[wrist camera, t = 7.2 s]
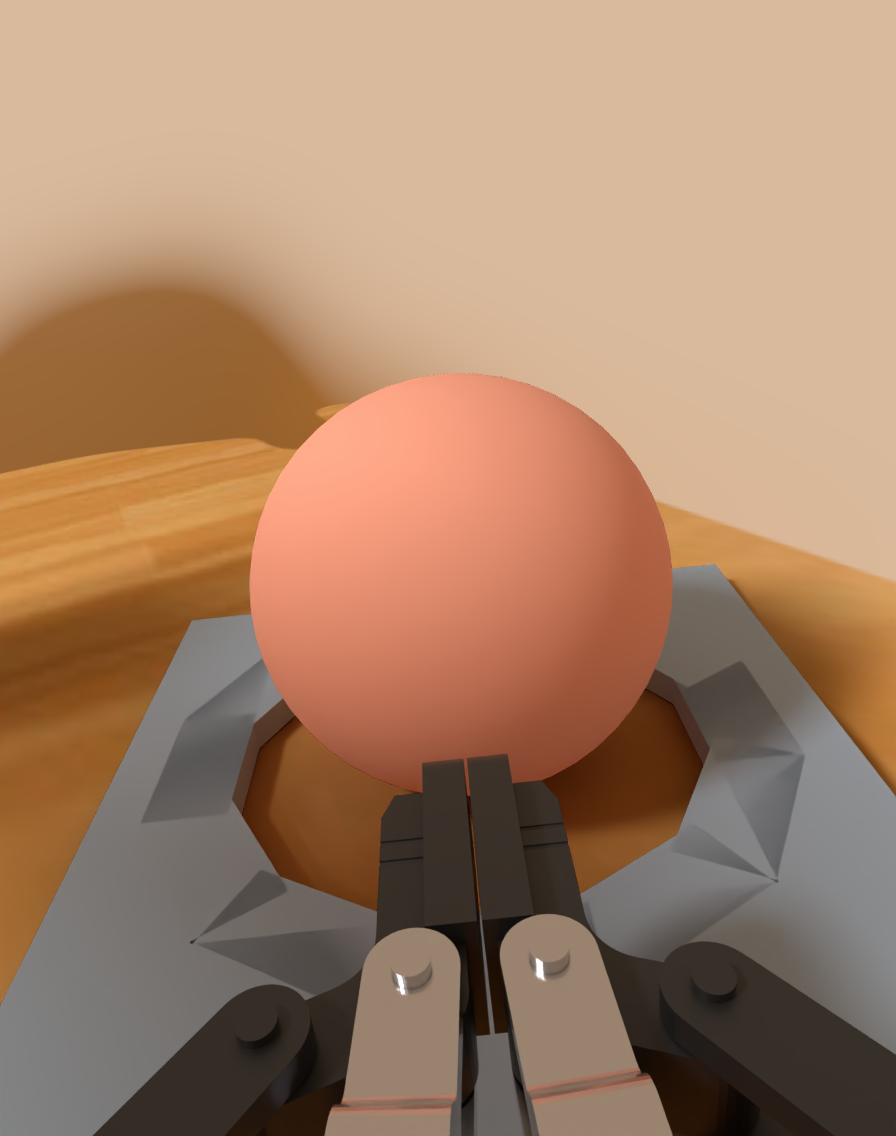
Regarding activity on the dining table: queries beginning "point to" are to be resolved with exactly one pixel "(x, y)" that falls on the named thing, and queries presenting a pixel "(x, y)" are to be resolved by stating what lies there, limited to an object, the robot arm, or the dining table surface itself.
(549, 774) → the ball
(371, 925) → the hole board
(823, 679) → the dining table surface
